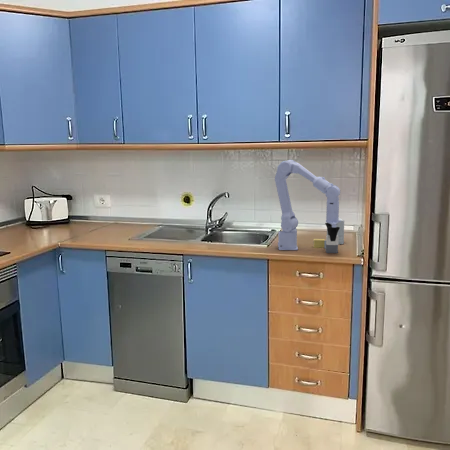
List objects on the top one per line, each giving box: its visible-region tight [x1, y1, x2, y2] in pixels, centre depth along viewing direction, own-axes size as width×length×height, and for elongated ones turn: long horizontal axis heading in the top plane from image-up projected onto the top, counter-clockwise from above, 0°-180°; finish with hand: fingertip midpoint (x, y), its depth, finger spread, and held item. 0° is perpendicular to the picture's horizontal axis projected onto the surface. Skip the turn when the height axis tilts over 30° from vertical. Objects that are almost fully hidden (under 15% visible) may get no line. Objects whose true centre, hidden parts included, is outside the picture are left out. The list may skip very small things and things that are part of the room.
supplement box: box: [326, 217, 345, 245], centre depth 244 cm, size 7×7×13 cm
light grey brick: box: [325, 234, 339, 246], centre depth 226 cm, size 6×3×4 cm, turn 84°
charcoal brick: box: [325, 244, 339, 254], centre depth 226 cm, size 6×3×4 cm, turn 84°
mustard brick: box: [312, 238, 326, 249], centre depth 237 cm, size 6×3×4 cm, turn 84°
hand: (331, 239), depth 225 cm, fingers open, 7 cm apart
